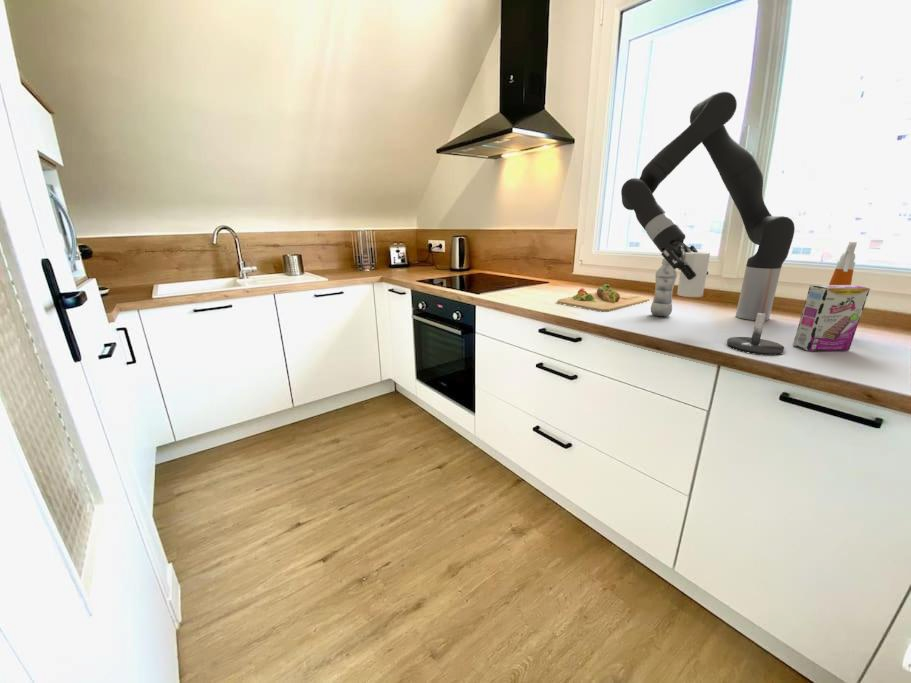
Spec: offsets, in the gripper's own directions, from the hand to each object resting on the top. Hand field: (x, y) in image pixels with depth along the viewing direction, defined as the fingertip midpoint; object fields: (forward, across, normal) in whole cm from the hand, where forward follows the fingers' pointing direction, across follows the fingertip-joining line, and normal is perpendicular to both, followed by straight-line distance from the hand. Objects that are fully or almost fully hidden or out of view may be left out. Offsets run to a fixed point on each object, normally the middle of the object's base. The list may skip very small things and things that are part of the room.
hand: (699, 276), depth 109 cm
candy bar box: (+31, +14, -6) cm, 34 cm away
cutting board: (-20, +20, +45) cm, 53 cm away
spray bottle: (+28, +32, -3) cm, 42 cm away
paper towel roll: (+3, 0, +5) cm, 6 cm away
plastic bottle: (0, +15, +25) cm, 29 cm away
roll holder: (+23, +1, +1) cm, 24 cm away
